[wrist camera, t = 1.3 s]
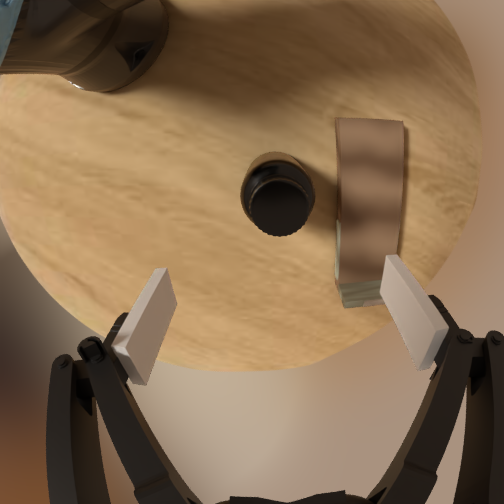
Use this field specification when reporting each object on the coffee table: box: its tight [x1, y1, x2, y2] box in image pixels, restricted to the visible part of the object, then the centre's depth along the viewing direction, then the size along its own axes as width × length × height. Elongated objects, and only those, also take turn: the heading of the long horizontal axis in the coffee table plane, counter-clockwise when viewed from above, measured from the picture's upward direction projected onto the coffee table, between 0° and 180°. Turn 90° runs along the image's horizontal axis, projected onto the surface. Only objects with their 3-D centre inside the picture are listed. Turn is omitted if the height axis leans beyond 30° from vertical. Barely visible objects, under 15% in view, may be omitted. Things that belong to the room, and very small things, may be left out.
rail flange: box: [335, 118, 404, 308], centre depth 30 cm, size 22×8×6 cm, turn 6°
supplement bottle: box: [240, 152, 315, 237], centre depth 27 cm, size 7×7×12 cm
